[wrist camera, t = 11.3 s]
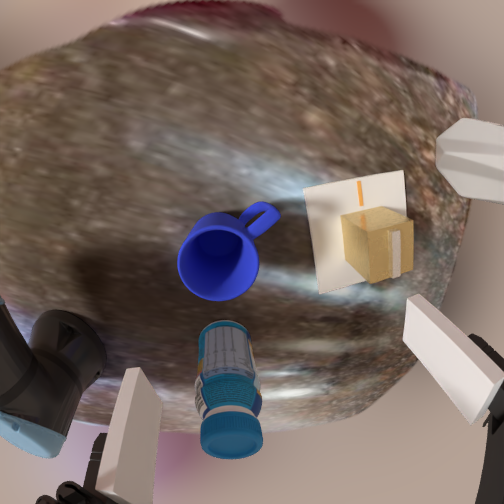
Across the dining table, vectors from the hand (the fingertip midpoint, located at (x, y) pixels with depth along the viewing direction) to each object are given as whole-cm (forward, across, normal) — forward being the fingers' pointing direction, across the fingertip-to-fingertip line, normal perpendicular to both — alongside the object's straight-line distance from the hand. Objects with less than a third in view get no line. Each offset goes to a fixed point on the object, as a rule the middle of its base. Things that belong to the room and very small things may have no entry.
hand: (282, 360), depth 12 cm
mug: (+27, -1, -1) cm, 27 cm away
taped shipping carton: (+26, +17, -6) cm, 31 cm away
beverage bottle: (+27, -7, -18) cm, 33 cm away
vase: (+26, +36, +4) cm, 45 cm away
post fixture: (+26, +17, -6) cm, 32 cm away
